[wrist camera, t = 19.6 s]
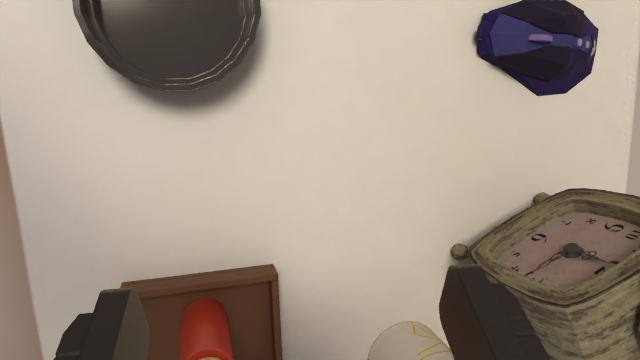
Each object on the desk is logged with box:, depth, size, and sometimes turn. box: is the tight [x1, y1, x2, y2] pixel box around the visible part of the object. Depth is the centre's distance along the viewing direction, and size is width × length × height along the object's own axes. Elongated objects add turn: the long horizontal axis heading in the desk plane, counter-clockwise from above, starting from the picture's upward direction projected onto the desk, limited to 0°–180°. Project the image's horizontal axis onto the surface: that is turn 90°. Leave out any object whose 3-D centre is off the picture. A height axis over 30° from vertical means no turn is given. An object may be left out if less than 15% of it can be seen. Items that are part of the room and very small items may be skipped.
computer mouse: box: [477, 0, 598, 96], centre depth 46 cm, size 9×15×4 cm, turn 84°
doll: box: [179, 298, 234, 360], centre depth 37 cm, size 4×4×12 cm
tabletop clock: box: [452, 188, 640, 360], centre depth 39 cm, size 14×9×25 cm, turn 117°
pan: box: [72, 0, 261, 91], centre depth 37 cm, size 13×13×4 cm
